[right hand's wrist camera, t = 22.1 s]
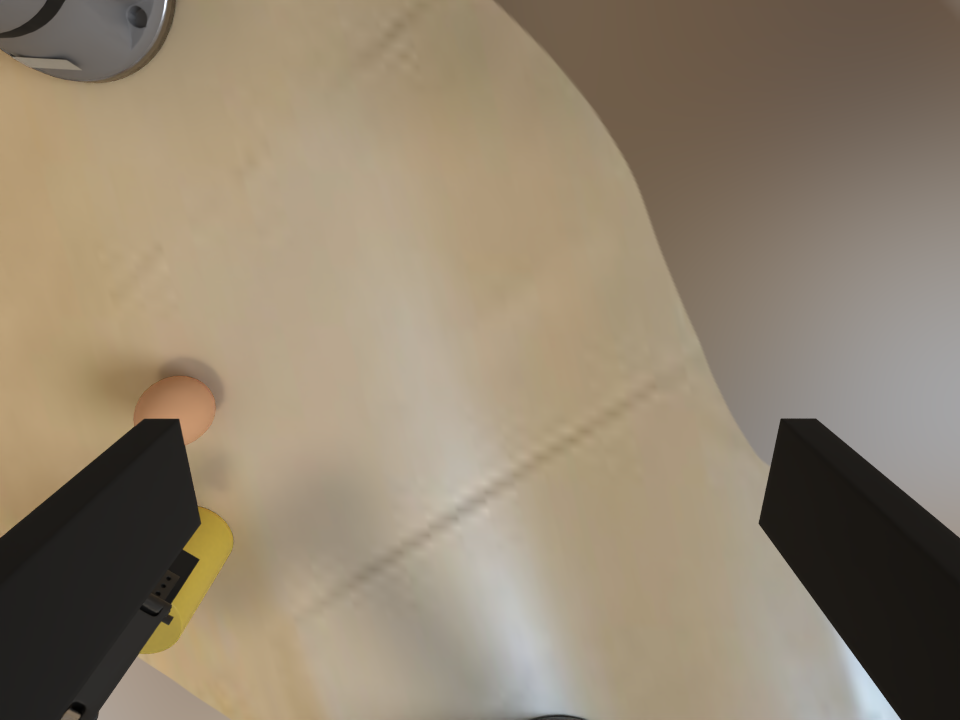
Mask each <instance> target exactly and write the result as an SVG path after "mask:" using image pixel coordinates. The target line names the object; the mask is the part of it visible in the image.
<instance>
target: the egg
mask: <svg viewBox="0 0 960 720" xmlns="http://www.w3.org/2000/svg"><path fill="white" fill-rule="evenodd" d="M215 410H216V406H215V399H214V397H213V395H212V392H211V391H210V390H209V388H208V387H207V386H206V385H205V384H204V383H202V382H200V381H199V380H197V379H194V378H191V377H187V376H172V377H168V378H165V379H162V380H160V381H158V382H156V383H155V384H153V385H151V386H150V387H149V388H148V389H147V390H146V391H145V392H144V393H143V394H142V396H141V397H140V399H139V401H138V403H137V405H136V408H135V412H134V427H135V426H136V425H137V424H138V423H139V422H141V421H142V420H143V419H179V420H180V425H181V430H182V434H183V439H184V444H185V445H187V444H189V443H191V442H193V441H195V440H196V439H198V438H199V437H200V436H202V435H203V434H204V433H205V431H206V430H207V429H208V428H209V427H210V425H211V424H212V421H213V419H214V416H215Z"/></svg>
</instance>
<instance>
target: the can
mask: <svg viewBox="0 0 960 720" xmlns="http://www.w3.org/2000/svg"><path fill="white" fill-rule="evenodd" d="M198 510H199V515H200V520H201V525H200V526H199V527H198V529H197V530H196V532H195V533H194V534H193V536H192V537H191V538H190V540H189V541H188V543H187V544H186V545H185V547H184V548H183V550H185V551H186V552H188V553H190V554H191V555H193V556H195V557H197V558H198V559H200V560H199V562H198V563H197V565H196V566H195V568H194V569H193V571H192V573H191V574H190V576H189V577H188V579H187V580H186V582H185V583H184V585H183V587H182V588H181V590H180V591H179V593H178V594H177V596H176V597H175V599H174V600H173V602H172V604H171V605H172V608H171V611H170V613H169V615H171V616H173V617H174V618H173V620H172V621H171V623H170V624H169V625H167V624H165V623H163V622H161V623H160V624H159V626H158V627H157V628H156V630H155V631H154V633H153V634H152V636H151V637H150V638H149V640H148V641H147V643H146V644H145V646H144V647H143V648H142V650H141V651H140V653H139V654H152V653H157V652H161V651H164V650H166V649H168V648H170V647H171V646H172V645H174V644H175V643H176V642H177V640H178V639H179V638H180V636H181V634H182V633H183V631H184V629H185V628H186V626H187V624H188V623H189V621H190V619H191V618H192V616H193V614H194V613H195V611H196V609H197V608H198V606H199V604H200V603H201V601H202V599H203V598H204V596H205V594H206V593H207V591H208V589H209V588H210V586H211V585H212V583H213V581H214V580H215V578H216V576H217V575H218V573H219V571H220V570H221V568H222V566H223V565H224V563H225V561H226V560H227V558H228V556H229V555H230V553H231V551H232V548H233V536H232V533H231V530H230V528H229V526H228V525H227V524H226V522H225V521H224V520H223V519H222V518H221V517H220V516H218V515H217V514H215V513H214V512H212V511H210V510H208V509H205V508H202V507H198Z"/></svg>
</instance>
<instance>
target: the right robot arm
mask: <svg viewBox="0 0 960 720" xmlns="http://www.w3.org/2000/svg"><path fill="white" fill-rule="evenodd" d="M175 3H176V0H0V49H1V50H3V51H4V52H5V53H7V54H8V55H10V56H11V57H12V58H14V59H16V60H17V61H19V62H21V63H22V64H24V65H26V66H28V67H31V68H33V69H35V70H38V71H40V72H43V73H45V74H48V75H51V76H53V77H57V78H61V79H65V80H72V81H79V82H86V83H104V82H110V81H115V80H119V79H122V78H125V77H127V76H129V75H131V74H133V73H135V72H136V71H138V70H140V69H141V68H142V67H143V66H145V65H146V64H147V63H148V62H149V61H150V60H151V59H152V58H153V57H154V56H155V55H156V53H157V52H158V51H159V49H160V48H161V46H162V44H163V43H164V41H165V39H166V37H167V35H168V32H169V29H170V27H171V24H172V20H173V16H174V11H175ZM200 525H201V520H200V515H199V510H198V505H197V501H196V496H195V491H194V486H193V482H192V477H191V472H190V467H189V463H188V458H187V453H186V448H185V444H184V439H183V434H182V430H181V425H180V420H179V419H143V420H142V421H141V422H139V423H138V424H137V425H136V426H135V427H133V428H132V429H131V430H130V431H129V432H127V433H126V434H125V435H124V436H123V437H121V438H120V439H119V440H118V441H117V442H115V443H114V444H113V445H112V446H111V447H109V448H108V449H107V450H106V451H105V452H103V453H102V454H101V455H100V456H98V457H97V458H96V459H95V460H94V461H92V462H91V463H90V464H89V465H88V466H86V467H85V468H84V469H83V470H82V471H80V472H79V473H78V474H77V475H76V476H74V477H73V478H72V479H71V480H70V481H68V482H67V483H66V484H65V485H64V486H62V487H61V488H60V489H59V490H58V491H56V492H55V493H54V494H53V495H52V496H50V497H49V498H48V499H47V500H45V501H44V502H43V503H42V504H41V505H39V506H38V507H37V508H36V509H35V510H33V511H32V512H31V513H30V514H29V515H27V516H26V517H25V518H24V519H23V520H21V521H20V522H19V523H18V524H17V525H15V526H14V527H13V528H12V529H11V530H9V531H8V532H7V533H6V534H5V535H3V536H2V537H1V538H0V720H59V719H60V718H61V716H62V715H63V713H64V712H65V711H66V709H67V708H68V707H69V705H70V704H71V702H72V701H73V700H74V698H75V697H76V695H77V694H78V693H79V691H80V690H81V689H82V687H83V686H84V684H85V683H86V682H87V680H88V679H89V678H90V676H91V675H92V673H93V672H94V671H95V669H96V668H97V667H98V665H99V664H100V662H101V661H102V660H103V658H104V657H105V656H106V654H107V653H108V651H109V650H110V649H111V647H112V646H113V645H114V643H115V642H116V640H117V639H118V638H119V636H120V635H121V634H122V632H123V631H124V629H125V628H126V627H127V625H128V624H129V622H130V621H131V620H132V618H133V617H134V616H135V614H136V613H137V611H138V610H139V609H140V607H141V606H142V605H143V603H144V602H145V600H146V599H147V598H148V596H149V595H150V594H151V592H152V591H153V589H154V588H155V587H156V585H157V584H158V583H159V581H160V580H161V578H162V577H163V576H164V574H165V573H166V572H167V570H168V569H169V567H170V566H171V565H172V563H173V562H174V561H175V559H176V558H177V556H178V555H179V554H180V552H181V551H182V550H183V548H184V547H185V545H186V544H187V543H188V541H189V540H190V538H191V537H192V536H193V534H194V533H195V532H196V530H197V529H198V527H199V526H200ZM759 525H760V526H761V527H762V529H763V530H764V532H765V533H766V534H767V536H768V537H769V538H770V540H771V541H772V543H773V544H774V545H775V547H776V548H777V550H778V551H779V552H780V554H781V555H782V556H783V558H784V559H785V561H786V562H787V563H788V565H789V566H790V567H791V569H792V570H793V572H794V573H795V574H796V576H797V577H798V578H799V580H800V581H801V583H802V584H803V585H804V587H805V588H806V589H807V591H808V592H809V594H810V595H811V596H812V598H813V599H814V600H815V602H816V603H817V605H818V606H819V607H820V609H821V610H822V611H823V613H824V614H825V616H826V617H827V618H828V620H829V621H830V622H831V624H832V625H833V627H834V628H835V629H836V631H837V632H838V634H839V635H840V636H841V638H842V639H843V640H844V642H845V643H846V645H847V646H848V647H849V649H850V650H851V651H852V653H853V654H854V656H855V657H856V658H857V660H858V661H859V662H860V664H861V665H862V667H863V668H864V669H865V671H866V672H867V673H868V675H869V676H870V678H871V679H872V680H873V682H874V683H875V684H876V686H877V687H878V689H879V690H880V691H881V693H882V694H883V695H884V697H885V698H886V700H887V701H888V702H889V704H890V705H891V707H892V708H893V709H894V711H895V712H896V713H897V715H898V716H899V718H900V719H901V720H960V538H959V537H958V536H957V535H955V534H954V533H953V532H952V531H951V530H949V529H948V528H947V527H946V526H945V525H943V524H942V523H941V522H940V521H939V520H937V519H936V518H935V517H934V516H933V515H931V514H930V513H929V512H928V511H927V510H925V509H924V508H923V507H922V506H921V505H919V504H918V503H917V502H916V501H915V500H913V499H912V498H911V497H910V496H908V495H907V494H906V493H905V492H904V491H902V490H901V489H900V488H899V487H898V486H896V485H895V484H894V483H893V482H892V481H890V480H889V479H888V478H887V477H886V476H884V475H883V474H882V473H881V472H880V471H878V470H877V469H876V468H875V467H874V466H872V465H871V464H870V463H869V462H867V461H866V460H865V459H864V458H863V457H862V456H860V455H859V454H858V453H857V452H855V451H854V450H853V449H852V448H851V447H849V446H848V445H847V444H846V443H845V442H843V441H842V440H841V439H840V438H839V437H837V436H836V435H835V434H834V433H833V432H831V431H830V430H829V429H828V428H827V427H825V426H824V425H823V424H822V423H821V422H819V421H818V420H817V419H781V420H780V425H779V429H778V434H777V439H776V444H775V448H774V453H773V458H772V463H771V467H770V472H769V477H768V482H767V486H766V491H765V496H764V501H763V505H762V510H761V515H760V520H759Z"/></svg>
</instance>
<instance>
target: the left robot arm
mask: <svg viewBox="0 0 960 720" xmlns="http://www.w3.org/2000/svg"><path fill="white" fill-rule="evenodd" d="M199 560H200V559H198V558H197V557H195V556H193V555H191V554H190V553H188V552H186V551H185V550H182V551H181V552H180V554H179V555H178V556H177V558H176V559H175V561H174V562H173V563H172V565H171V566H170V567H169V569H168V570H167V572H166V573H165V574H164V576H163V577H162V578H161V580H160V581H159V583H158V584H157V585H156V587H155V588H154V589H153V591H152V592H151V594H150V595H149V596H148V598H147V599H146V600H145V602H144V603H143V605H142V606H141V607H140V609H139V610H138V611H137V613H136V614H135V616H134V617H133V618H132V620H131V621H130V622H129V624H128V625H127V627H126V628H125V629H124V631H123V632H122V634H121V635H120V636H119V638H118V639H117V640H116V642H115V643H114V645H113V646H112V647H111V649H110V650H109V651H108V653H107V654H106V656H105V657H104V658H103V660H102V661H101V662H100V664H99V665H98V667H97V668H96V669H95V671H94V672H93V673H92V675H91V676H90V678H89V679H88V680H87V682H86V683H85V684H84V686H83V687H82V689H81V690H80V691H79V693H78V694H77V695H76V697H75V698H74V700H73V701H72V702H71V704H70V705H69V707H68V708H67V709H66V711H65V712H64V713H63V715H62V716H61V718H60V719H59V720H97V718H98V714H99V710H100V709H101V707H102V706H103V704H104V703H105V701H106V700H107V699H108V697H109V696H110V694H111V693H112V691H113V690H114V689H115V687H116V686H117V684H118V683H119V681H120V680H121V679H122V677H123V676H124V674H125V673H126V671H127V670H128V668H129V667H130V666H131V664H132V663H133V661H134V660H135V658H136V657H137V656H138V654H139V653H140V651H141V650H142V648H143V647H144V646H145V644H146V643H147V641H148V640H149V638H150V637H151V636H152V634H153V633H154V631H155V630H156V628H157V627H158V626H159V624H160V623H161V622H163V623H165V624H167V625H169V624H170V623H171V621H172V620H173V618H174V617H173V616H171V615H169V613H170V611H171V608H172V605H171V604H172V602H173V600H174V599H175V597H176V596H177V594H178V593H179V591H180V590H181V588H182V587H183V585H184V583H185V582H186V580H187V579H188V577H189V576H190V574H191V573H192V571H193V569H194V568H195V566H196V565H197V563H198V562H199ZM537 720H581V719H577V718H572V717H547V718H541V719H537Z"/></svg>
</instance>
